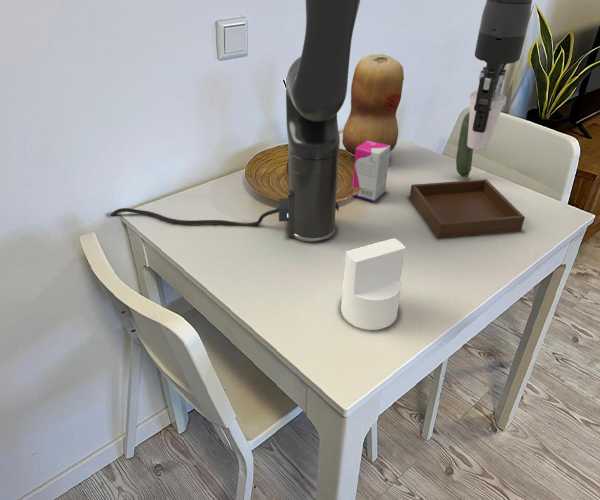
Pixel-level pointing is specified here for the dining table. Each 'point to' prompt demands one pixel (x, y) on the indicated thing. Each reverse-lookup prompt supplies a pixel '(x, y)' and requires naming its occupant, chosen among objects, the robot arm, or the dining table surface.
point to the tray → (465, 208)
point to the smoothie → (482, 139)
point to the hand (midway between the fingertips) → (481, 124)
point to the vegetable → (464, 150)
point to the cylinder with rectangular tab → (372, 284)
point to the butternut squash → (374, 102)
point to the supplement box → (371, 170)
